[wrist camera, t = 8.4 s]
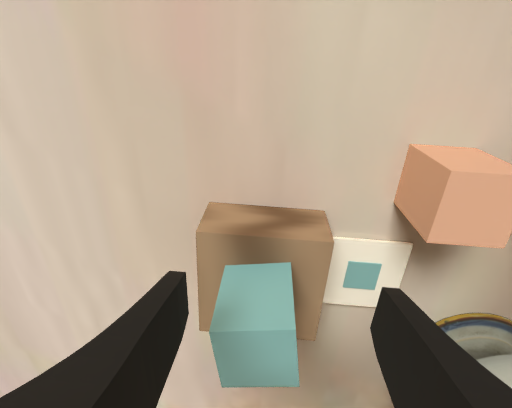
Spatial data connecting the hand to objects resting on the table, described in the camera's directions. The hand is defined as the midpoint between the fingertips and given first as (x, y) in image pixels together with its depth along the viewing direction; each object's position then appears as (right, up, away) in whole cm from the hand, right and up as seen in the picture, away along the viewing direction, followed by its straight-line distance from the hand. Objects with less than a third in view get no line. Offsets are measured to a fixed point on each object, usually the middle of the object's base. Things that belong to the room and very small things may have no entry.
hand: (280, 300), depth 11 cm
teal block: (-1, -2, +8) cm, 8 cm away
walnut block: (0, 0, +12) cm, 12 cm away
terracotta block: (+11, +5, +8) cm, 14 cm away
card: (+7, -2, +12) cm, 14 cm away
